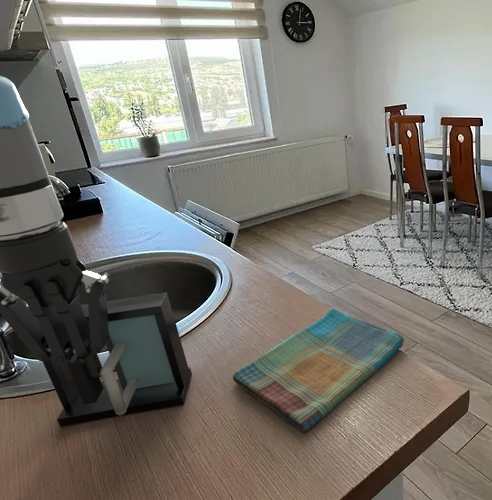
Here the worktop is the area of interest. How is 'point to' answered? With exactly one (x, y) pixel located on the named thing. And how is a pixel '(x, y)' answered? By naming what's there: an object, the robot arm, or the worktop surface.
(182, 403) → the window frame
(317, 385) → the dish towel
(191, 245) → the worktop surface
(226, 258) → the worktop surface
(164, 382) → the pane
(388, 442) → the worktop surface
